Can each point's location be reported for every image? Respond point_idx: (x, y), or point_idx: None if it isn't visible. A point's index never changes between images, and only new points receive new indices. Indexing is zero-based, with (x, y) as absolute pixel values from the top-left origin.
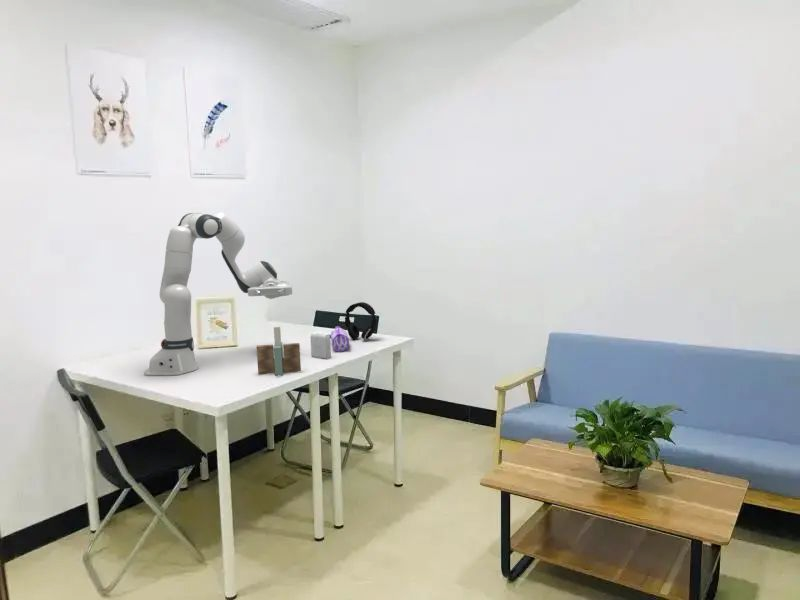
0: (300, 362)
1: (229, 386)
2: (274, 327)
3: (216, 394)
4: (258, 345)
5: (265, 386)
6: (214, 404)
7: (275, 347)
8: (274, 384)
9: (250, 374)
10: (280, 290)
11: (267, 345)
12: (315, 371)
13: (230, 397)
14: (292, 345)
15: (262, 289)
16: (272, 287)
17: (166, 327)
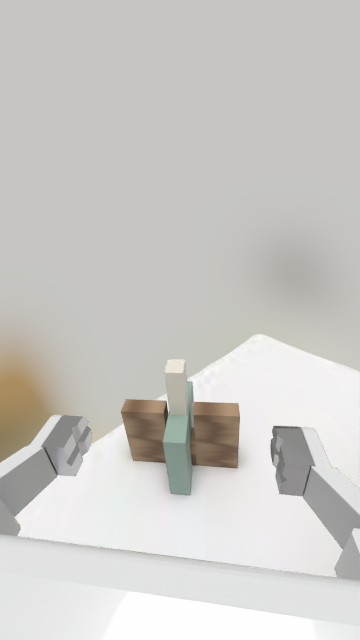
0: (130, 446)
1: (274, 390)
2: (182, 360)
3: (280, 363)
4: (235, 415)
5: (211, 378)
6: (266, 338)
7: (187, 385)
8: (197, 383)
9: (256, 458)
10: (58, 416)
11: (208, 408)
12: (108, 438)
13: (254, 351)
14: (143, 401)
15: (286, 575)
16: (79, 580)
17: None
